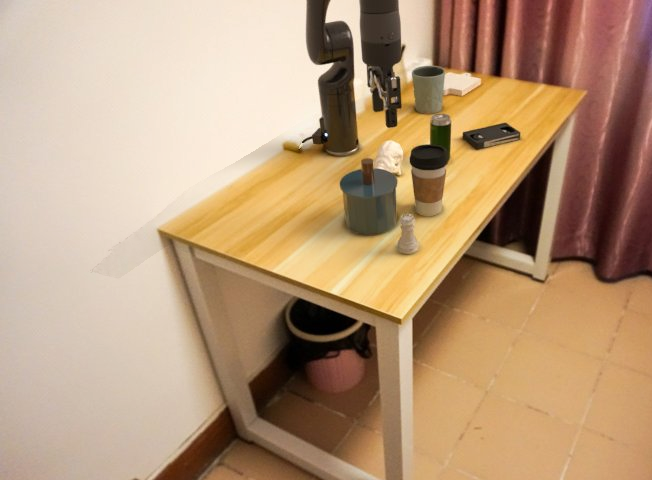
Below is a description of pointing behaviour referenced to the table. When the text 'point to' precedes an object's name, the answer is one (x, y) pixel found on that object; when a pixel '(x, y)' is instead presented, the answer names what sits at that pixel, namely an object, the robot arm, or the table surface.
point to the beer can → (441, 131)
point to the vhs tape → (491, 135)
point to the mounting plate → (459, 83)
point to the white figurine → (389, 157)
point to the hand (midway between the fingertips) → (384, 118)
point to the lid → (368, 181)
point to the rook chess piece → (407, 235)
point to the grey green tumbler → (428, 88)
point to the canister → (370, 214)
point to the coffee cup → (428, 177)
